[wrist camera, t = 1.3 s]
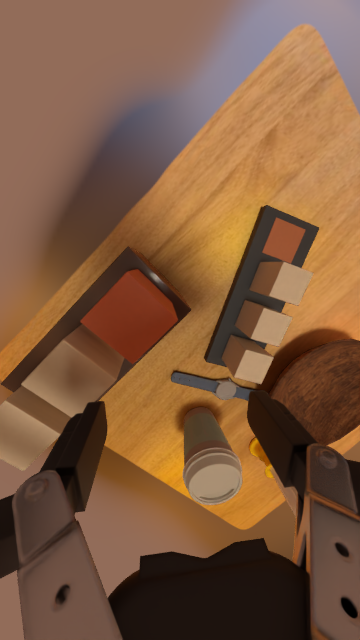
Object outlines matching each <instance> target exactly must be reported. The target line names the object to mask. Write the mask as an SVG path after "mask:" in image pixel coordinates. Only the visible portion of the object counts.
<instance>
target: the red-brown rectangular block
mask: <svg viewBox="0 0 360 640" xmlns="http://www.w3.org/2000/svg"><path fill="white" fill-rule="evenodd" d="M177 321H178V318H177V315H176V312H175V309H174V307H173V304H172V302H171V301H170V300H169V299H168V298H167V297H166V296H165V295H164V294H163V293H162V292H161V291H160V290H159V289H158V288H157V287H156V286H155V285H154V284H153V283H152V282H151V281H150V280H149V279H148V278H147V277H146V276H145V275H144V274H143V273H141V272H140V271H139V270H138V269H135V270H131V271H127V272H126V273H125V274H124V275H123V276H122V277H121V278H120V279H119V280H118V281H117V283H116V284H115V285H114V286H113V287H112V288H111V289H110V290H109V291H108V292H107V293H106V294H105V295H104V296H103V297H102V298H101V299H100V301H99V302H98V303H97V304H96V305H95V306H94V307H93V308H92V309H91V310H90V311H89V312H88V313H87V314H86V315H85V316H84V317H83V319H82V320H81V321H80V322H81V323H82V324H83V325H85V326H86V327H87V328H88V329H90V330H91V331H92V332H93V333H95V334H96V335H97V336H98V337H99V338H101V339H102V340H103V341H104V342H106V343H107V344H108V345H109V346H111V347H112V348H113V349H114V350H116V351H117V352H118V353H119V354H120V355H122V356H123V357H124V358H125V359H127V360H128V361H129V362H130V363H132V364H134V363H135V362H136V361H137V360H138V359H139V358H140V357H141V356H142V355H143V354H144V353H145V352H146V351H147V350H148V349H149V348H150V347H151V346H152V345H153V344H154V343H155V342H156V341H157V340H158V339H159V338H160V337H162V336H163V335H164V334H165V333H166V332H167V331H168V330H169V329H170V328H171V327H172V326H173V325H174V324H175V323H176V322H177Z"/></svg>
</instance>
